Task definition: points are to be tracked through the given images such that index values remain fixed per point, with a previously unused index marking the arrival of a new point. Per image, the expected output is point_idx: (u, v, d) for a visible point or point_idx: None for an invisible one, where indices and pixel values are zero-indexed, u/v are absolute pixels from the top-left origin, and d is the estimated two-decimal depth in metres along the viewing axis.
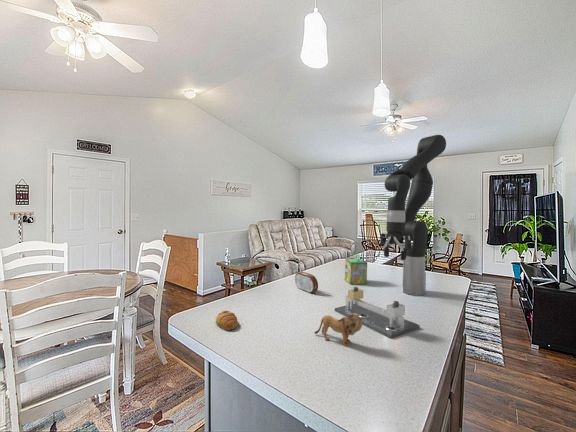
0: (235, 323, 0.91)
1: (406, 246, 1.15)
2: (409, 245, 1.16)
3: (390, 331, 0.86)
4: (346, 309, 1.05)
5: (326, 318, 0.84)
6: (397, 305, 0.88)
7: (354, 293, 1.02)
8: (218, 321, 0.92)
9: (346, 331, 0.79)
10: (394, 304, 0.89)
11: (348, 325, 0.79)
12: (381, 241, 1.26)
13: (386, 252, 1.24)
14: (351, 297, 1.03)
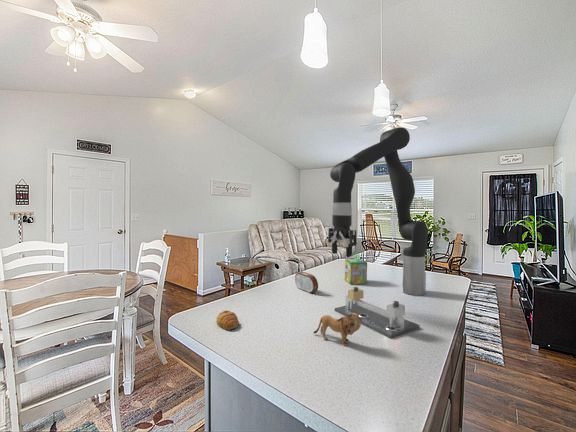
0: (236, 323, 0.91)
1: (350, 241, 1.05)
2: (354, 240, 1.06)
3: (390, 331, 0.86)
4: (346, 309, 1.05)
5: (325, 318, 0.84)
6: (397, 305, 0.88)
7: (354, 293, 1.02)
8: (219, 321, 0.93)
9: (345, 330, 0.79)
10: (394, 304, 0.89)
11: (346, 325, 0.79)
12: (329, 236, 1.16)
13: (334, 248, 1.14)
14: (351, 297, 1.03)
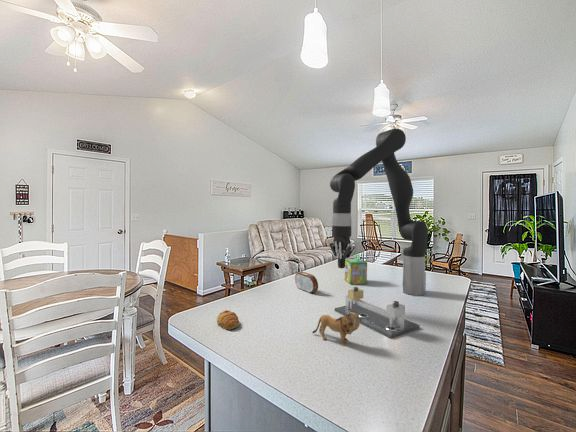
0: (236, 322, 0.91)
1: (344, 255, 1.08)
2: (349, 254, 1.09)
3: (390, 331, 0.86)
4: (346, 309, 1.05)
5: (324, 317, 0.84)
6: (397, 305, 0.88)
7: (354, 293, 1.02)
8: (219, 321, 0.93)
9: (344, 330, 0.79)
10: (394, 304, 0.89)
11: (345, 324, 0.79)
12: (333, 251, 1.14)
13: None
14: (351, 297, 1.03)
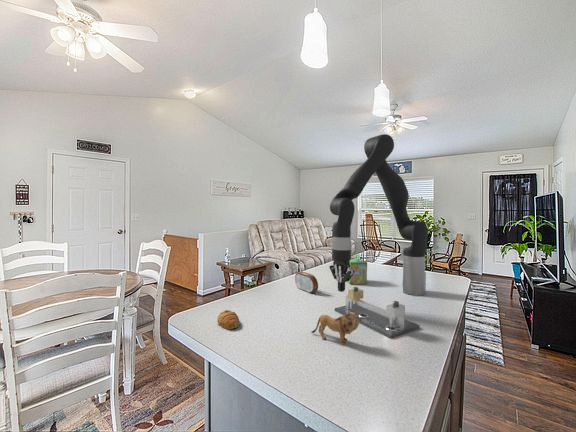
0: (237, 322, 0.91)
1: (344, 279, 1.08)
2: (348, 277, 1.09)
3: (390, 331, 0.86)
4: (346, 309, 1.05)
5: (323, 317, 0.84)
6: (397, 305, 0.88)
7: (354, 293, 1.02)
8: (220, 320, 0.93)
9: (343, 330, 0.79)
10: (394, 304, 0.89)
11: (345, 324, 0.79)
12: (333, 273, 1.14)
13: None
14: (351, 297, 1.03)
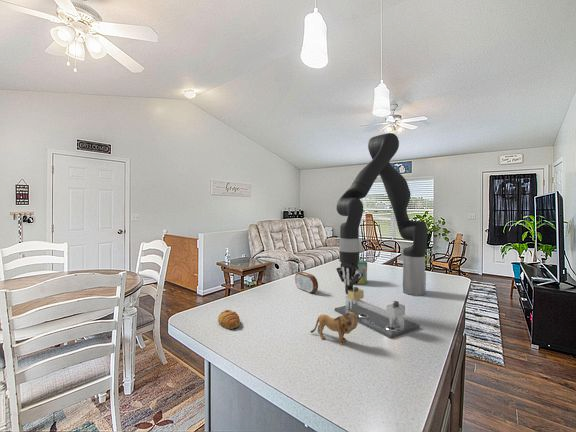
0: (238, 322, 0.92)
1: (352, 282, 1.04)
2: None
3: (390, 331, 0.86)
4: (346, 309, 1.05)
5: (322, 317, 0.84)
6: (397, 305, 0.88)
7: (354, 293, 1.02)
8: (221, 320, 0.93)
9: (342, 329, 0.80)
10: (394, 304, 0.89)
11: (344, 324, 0.80)
12: (340, 276, 1.10)
13: None
14: (351, 297, 1.03)
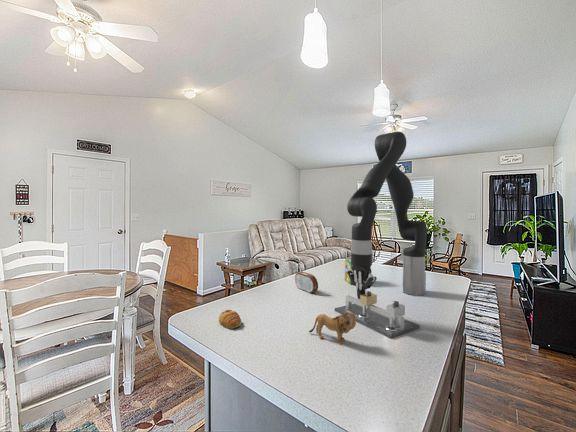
0: (239, 322, 0.92)
1: (365, 286, 0.99)
2: None
3: (390, 331, 0.86)
4: (346, 309, 1.05)
5: (321, 317, 0.85)
6: (397, 305, 0.88)
7: (367, 298, 0.97)
8: (221, 320, 0.93)
9: (341, 329, 0.80)
10: (394, 304, 0.89)
11: (342, 323, 0.80)
12: (351, 280, 1.05)
13: None
14: (364, 302, 0.98)
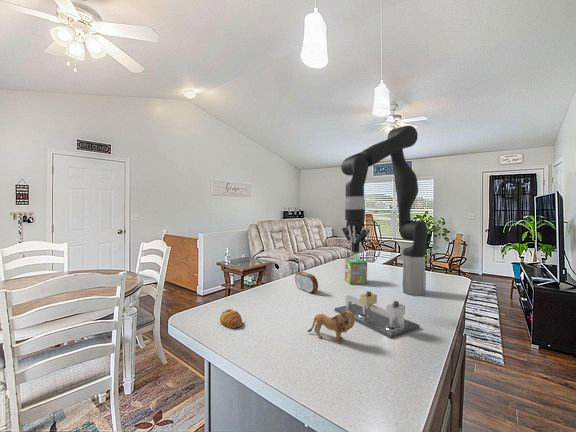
0: (240, 321, 0.92)
1: (359, 239, 1.06)
2: (363, 237, 1.06)
3: (390, 331, 0.86)
4: (346, 309, 1.05)
5: (319, 316, 0.85)
6: (397, 305, 0.88)
7: (367, 298, 0.97)
8: (223, 320, 0.94)
9: (339, 328, 0.80)
10: (394, 304, 0.89)
11: (341, 322, 0.80)
12: (346, 235, 1.12)
13: None
14: (364, 302, 0.97)
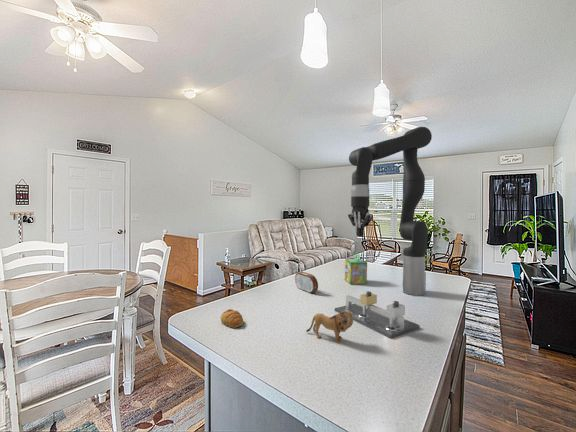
0: (241, 321, 0.93)
1: (363, 223, 1.15)
2: None
3: (390, 331, 0.86)
4: (346, 309, 1.05)
5: (318, 316, 0.85)
6: (397, 305, 0.88)
7: (367, 298, 0.97)
8: (224, 319, 0.94)
9: (338, 328, 0.81)
10: (394, 304, 0.89)
11: (340, 322, 0.81)
12: (351, 221, 1.21)
13: None
14: (364, 302, 0.97)
